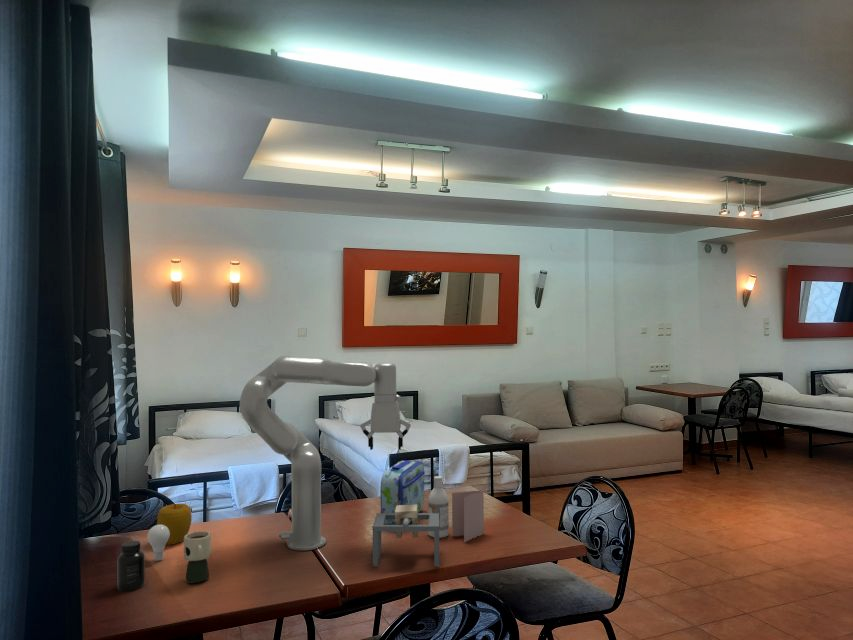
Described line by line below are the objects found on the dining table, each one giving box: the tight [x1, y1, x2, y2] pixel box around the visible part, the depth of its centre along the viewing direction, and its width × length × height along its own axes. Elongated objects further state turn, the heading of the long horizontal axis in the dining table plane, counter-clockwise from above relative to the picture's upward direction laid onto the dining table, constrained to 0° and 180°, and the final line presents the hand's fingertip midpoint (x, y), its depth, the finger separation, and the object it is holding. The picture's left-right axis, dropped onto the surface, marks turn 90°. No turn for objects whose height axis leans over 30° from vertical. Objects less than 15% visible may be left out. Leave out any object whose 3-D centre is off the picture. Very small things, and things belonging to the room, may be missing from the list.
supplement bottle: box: [116, 540, 146, 592], centre depth 168 cm, size 7×7×12 cm
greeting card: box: [451, 490, 485, 543], centre depth 206 cm, size 11×7×15 cm, turn 105°
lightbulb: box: [146, 524, 170, 562], centre depth 187 cm, size 6×6×11 cm
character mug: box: [183, 530, 212, 584], centre depth 172 cm, size 11×7×13 cm, turn 28°
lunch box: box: [379, 460, 426, 525], centre depth 227 cm, size 26×11×21 cm, turn 162°
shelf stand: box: [372, 512, 440, 568], centre depth 187 cm, size 20×13×14 cm, turn 89°
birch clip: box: [395, 504, 419, 539], centre depth 187 cm, size 7×7×8 cm
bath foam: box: [427, 475, 450, 539], centre depth 209 cm, size 7×7×20 cm
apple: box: [156, 503, 192, 546], centre depth 203 cm, size 11×11×13 cm
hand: (385, 449), depth 206 cm, fingers open, 9 cm apart
